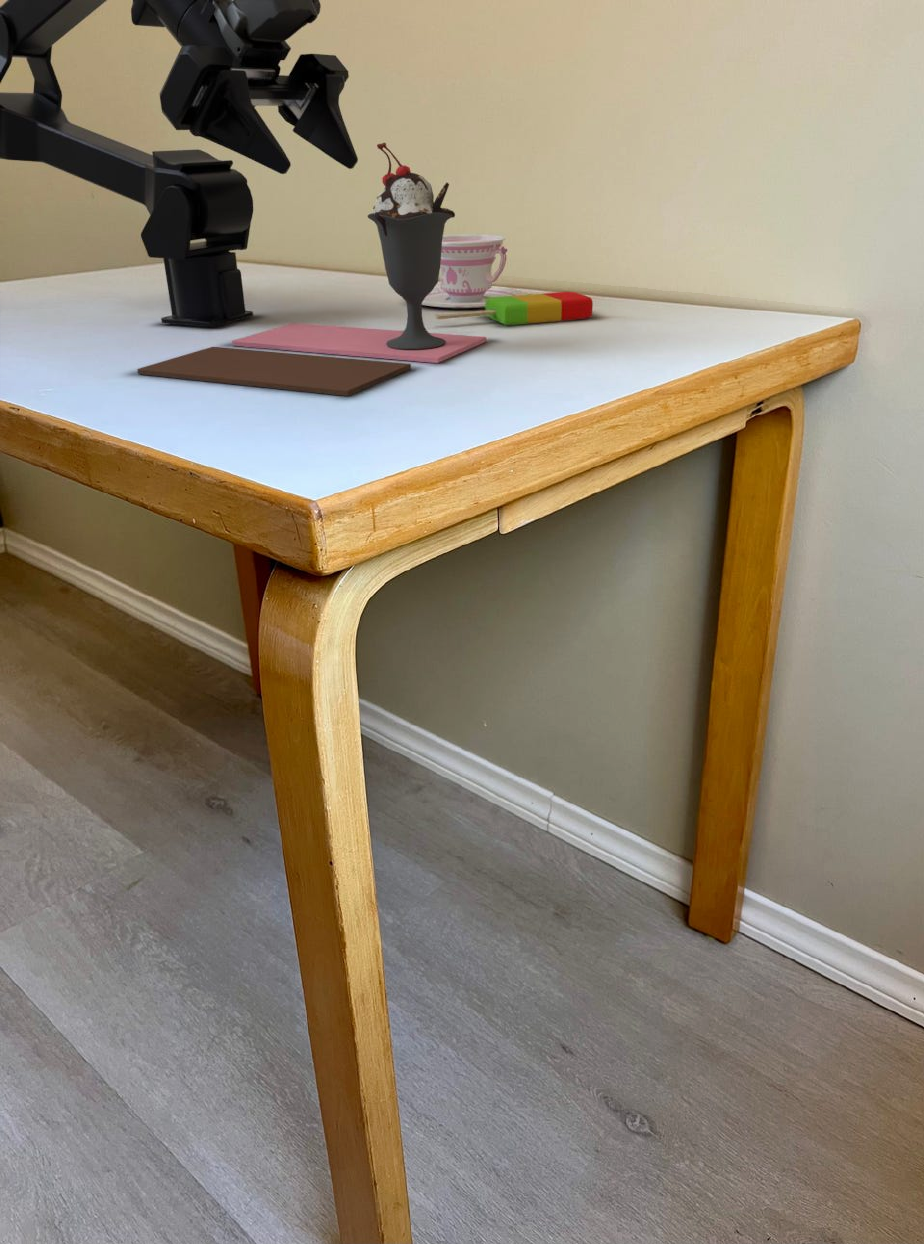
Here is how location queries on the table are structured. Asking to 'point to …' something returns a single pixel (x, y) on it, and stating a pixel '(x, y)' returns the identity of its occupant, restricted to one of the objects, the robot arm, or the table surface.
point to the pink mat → (354, 342)
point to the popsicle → (533, 308)
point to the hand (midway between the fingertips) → (322, 167)
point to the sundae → (411, 246)
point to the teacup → (469, 272)
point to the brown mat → (277, 370)
